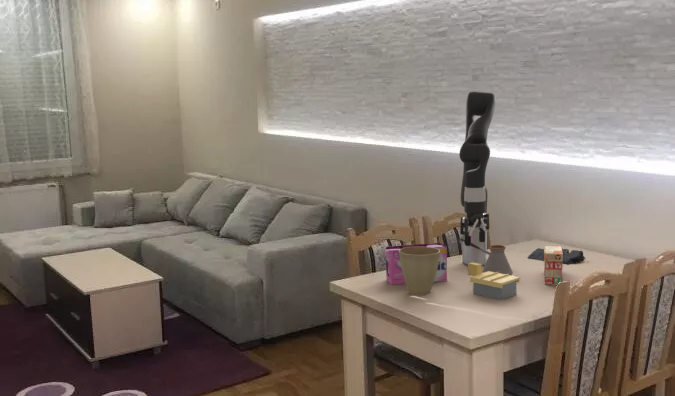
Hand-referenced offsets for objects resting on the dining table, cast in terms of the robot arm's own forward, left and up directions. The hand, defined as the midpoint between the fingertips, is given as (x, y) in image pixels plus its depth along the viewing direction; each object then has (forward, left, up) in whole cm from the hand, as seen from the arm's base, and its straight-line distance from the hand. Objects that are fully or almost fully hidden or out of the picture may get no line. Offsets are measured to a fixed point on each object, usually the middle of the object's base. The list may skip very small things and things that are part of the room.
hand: (475, 243), depth 258 cm
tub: (+8, 0, -18) cm, 20 cm away
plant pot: (-14, -15, -18) cm, 27 cm away
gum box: (-26, -2, -18) cm, 32 cm away
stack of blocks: (+11, +35, -18) cm, 41 cm away
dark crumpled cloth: (-5, +64, -18) cm, 67 cm away
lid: (+6, 0, -13) cm, 14 cm away
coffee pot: (-9, +18, -18) cm, 27 cm away
